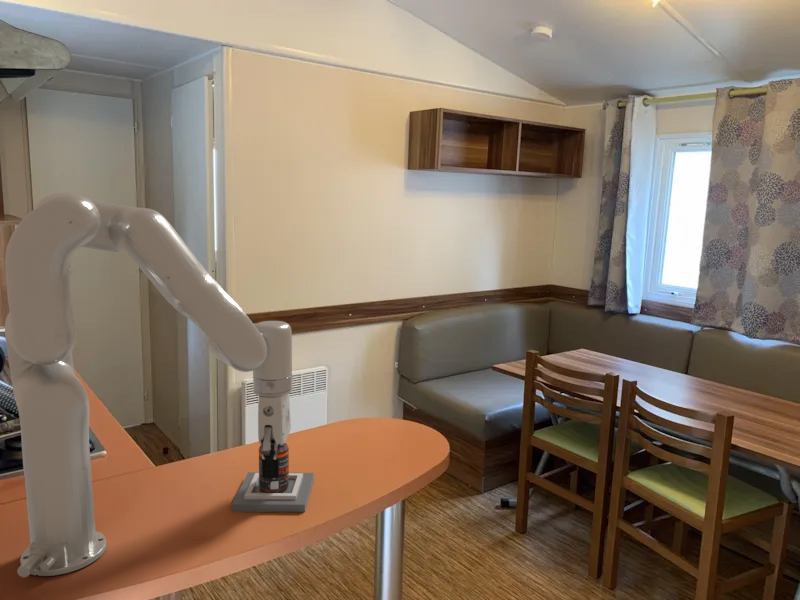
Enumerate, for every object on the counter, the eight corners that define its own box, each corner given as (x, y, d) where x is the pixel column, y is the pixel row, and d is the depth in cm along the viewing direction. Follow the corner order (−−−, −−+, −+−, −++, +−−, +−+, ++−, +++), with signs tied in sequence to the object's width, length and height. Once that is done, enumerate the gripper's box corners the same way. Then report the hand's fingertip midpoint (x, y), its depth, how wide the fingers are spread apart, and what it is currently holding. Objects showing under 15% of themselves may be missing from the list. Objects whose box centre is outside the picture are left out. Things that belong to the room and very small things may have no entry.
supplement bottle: (282, 496, 122) (281, 441, 120) (254, 493, 123) (252, 439, 121) (293, 483, 128) (292, 430, 126) (266, 480, 129) (265, 428, 127)
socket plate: (304, 511, 119) (304, 500, 118) (231, 511, 119) (231, 500, 118) (313, 479, 133) (313, 469, 132) (248, 478, 132) (248, 468, 132)
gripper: (284, 398, 113) (285, 489, 116) (298, 372, 130) (299, 452, 133) (243, 397, 113) (245, 489, 116) (262, 371, 130) (264, 452, 133)
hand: (274, 469), depth 125 cm, fingers open, 6 cm apart
